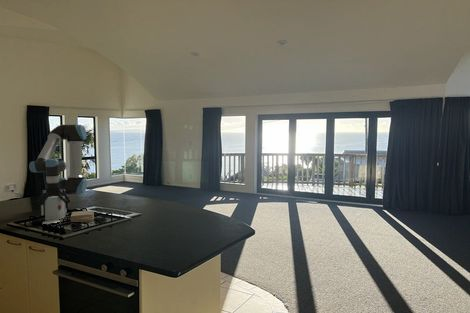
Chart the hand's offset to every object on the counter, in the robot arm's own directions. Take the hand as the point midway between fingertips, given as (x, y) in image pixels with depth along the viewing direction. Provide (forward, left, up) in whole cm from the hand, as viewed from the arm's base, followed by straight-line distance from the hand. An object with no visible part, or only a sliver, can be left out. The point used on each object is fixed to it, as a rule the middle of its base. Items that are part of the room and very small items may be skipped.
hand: (54, 214), depth 225 cm
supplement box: (-2, 0, -4) cm, 5 cm away
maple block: (+7, +18, -4) cm, 20 cm away
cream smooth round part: (+10, 0, -4) cm, 11 cm away
